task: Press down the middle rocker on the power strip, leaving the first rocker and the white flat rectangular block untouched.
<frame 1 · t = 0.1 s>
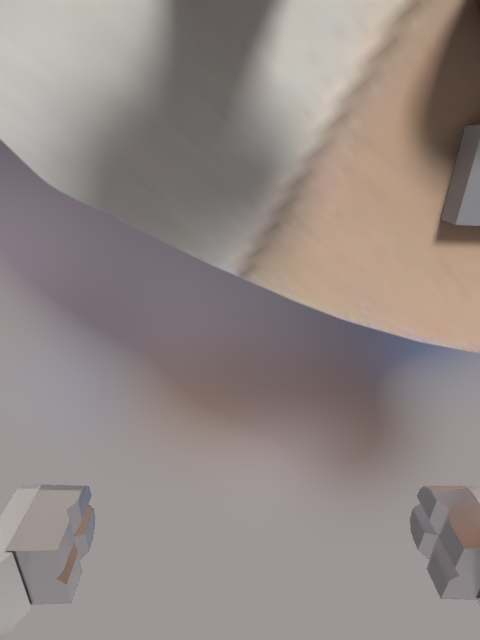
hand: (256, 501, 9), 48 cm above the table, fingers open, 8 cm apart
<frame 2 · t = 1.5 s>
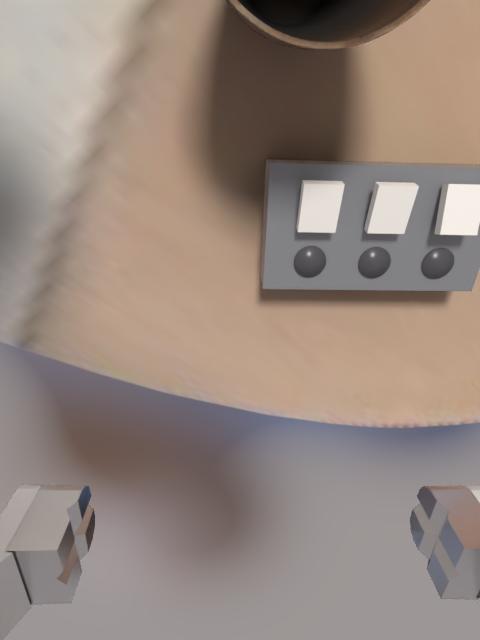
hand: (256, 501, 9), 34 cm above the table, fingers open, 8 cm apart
power strip: (366, 223, 40), on the table
rocker 1: (318, 206, 34), point 5 cm above the table, hinge at 10.0°
rocker 2: (389, 208, 35), point 5 cm above the table, hinge at 10.0°
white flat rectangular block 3: (458, 210, 35), point 5 cm above the table, hinge at -10.0°
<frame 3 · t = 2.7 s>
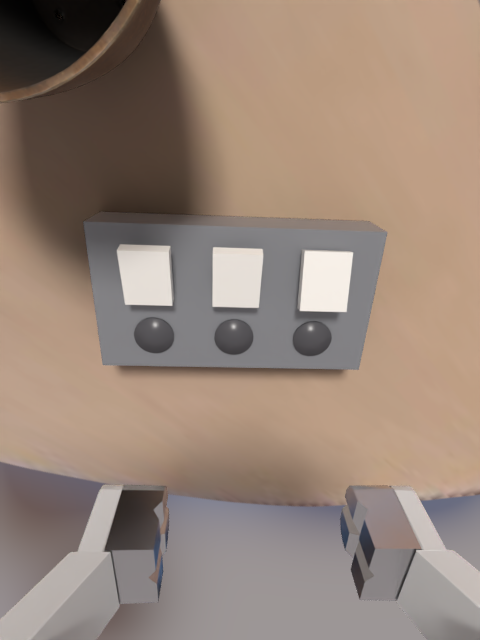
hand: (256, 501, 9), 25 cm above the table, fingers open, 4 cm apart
power strip: (234, 285, 34), on the table
rocker 1: (147, 275, 28), point 5 cm above the table, hinge at 10.0°
rocker 2: (236, 277, 28), point 5 cm above the table, hinge at 10.0°
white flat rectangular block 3: (323, 280, 28), point 5 cm above the table, hinge at -10.0°
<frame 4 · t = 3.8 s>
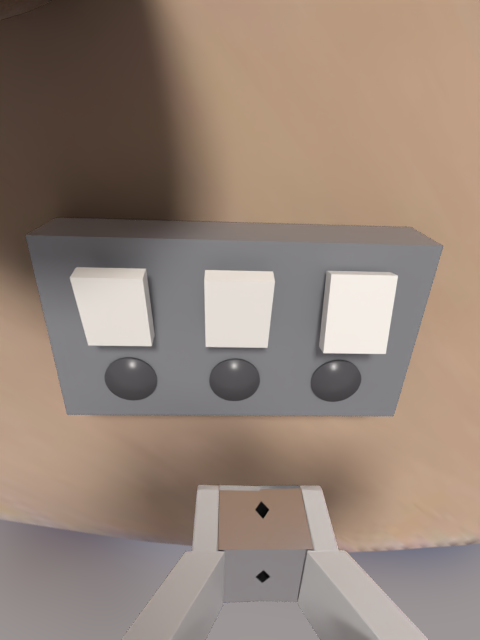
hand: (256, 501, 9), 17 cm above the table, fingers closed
power strip: (234, 309, 26), on the table
rocker 1: (116, 307, 20), point 5 cm above the table, hinge at 10.0°
rocker 2: (237, 309, 21), point 5 cm above the table, hinge at 10.0°
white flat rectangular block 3: (355, 312, 21), point 5 cm above the table, hinge at -10.0°
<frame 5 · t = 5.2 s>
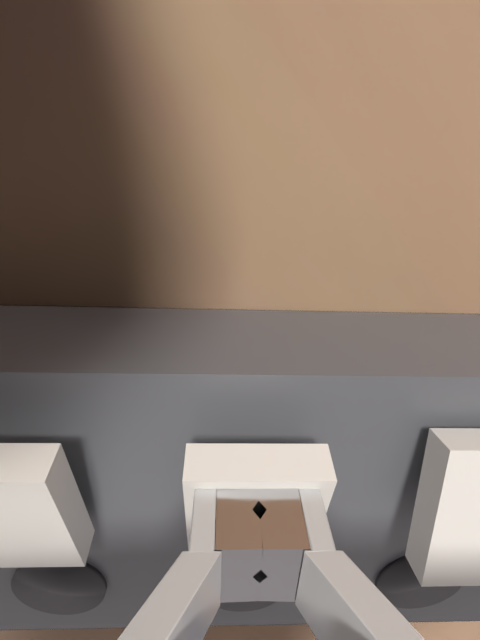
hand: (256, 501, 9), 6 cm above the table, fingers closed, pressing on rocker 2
power strip: (242, 438, 16), on the table
rocker 1: (8, 505, 10), point 5 cm above the table, hinge at 10.0°
rocker 2: (253, 503, 10), point 5 cm above the table, hinge at 9.9°, touching gripper
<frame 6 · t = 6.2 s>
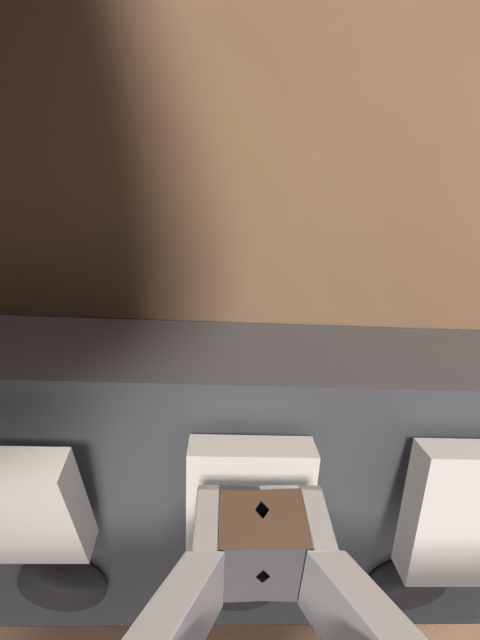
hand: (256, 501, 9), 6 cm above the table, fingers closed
power strip: (239, 444, 17), on the table
rocker 1: (19, 504, 11), point 5 cm above the table, hinge at 10.0°
rocker 2: (248, 507, 11), point 5 cm above the table, hinge at -9.2°
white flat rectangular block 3: (463, 509, 11), point 5 cm above the table, hinge at -10.0°
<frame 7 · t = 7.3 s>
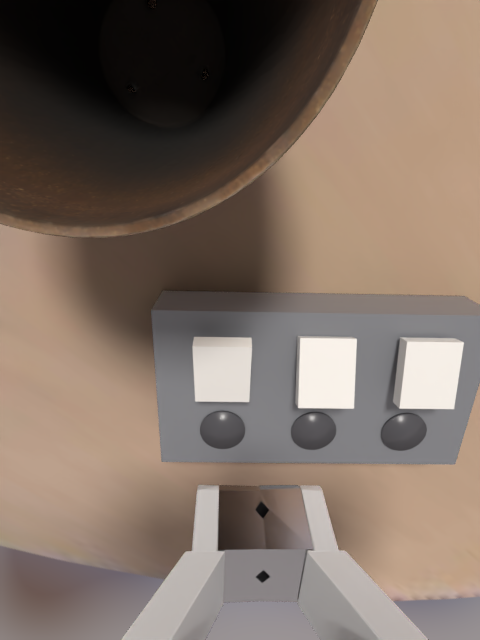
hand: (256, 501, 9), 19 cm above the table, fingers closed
plant pot: (167, 61, 22), on the table
power strip: (307, 366, 30), on the table
rocker 1: (222, 368, 24), point 5 cm above the table, hinge at 10.0°
rocker 2: (324, 371, 24), point 5 cm above the table, hinge at -17.6°
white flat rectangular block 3: (425, 372, 24), point 5 cm above the table, hinge at -10.0°
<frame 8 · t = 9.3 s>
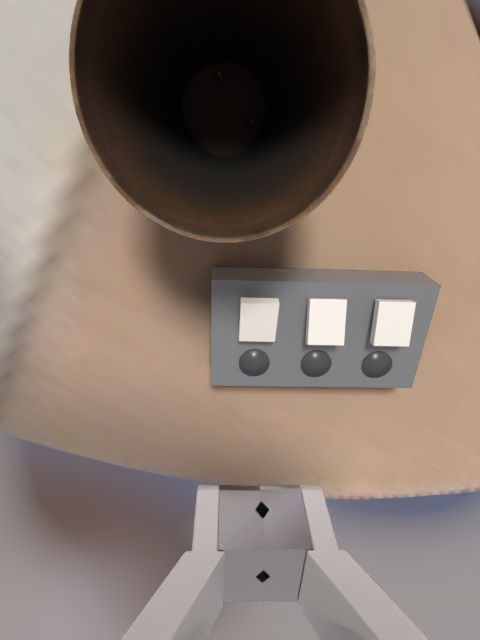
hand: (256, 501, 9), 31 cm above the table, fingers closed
plant pot: (225, 112, 33), on the table
power strip: (311, 321, 42), on the table
rocker 1: (258, 319, 36), point 5 cm above the table, hinge at 10.0°
rocker 2: (325, 321, 36), point 5 cm above the table, hinge at -17.3°
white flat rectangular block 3: (391, 322, 37), point 5 cm above the table, hinge at -10.0°
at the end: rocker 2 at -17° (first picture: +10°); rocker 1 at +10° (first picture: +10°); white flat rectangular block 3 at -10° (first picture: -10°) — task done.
